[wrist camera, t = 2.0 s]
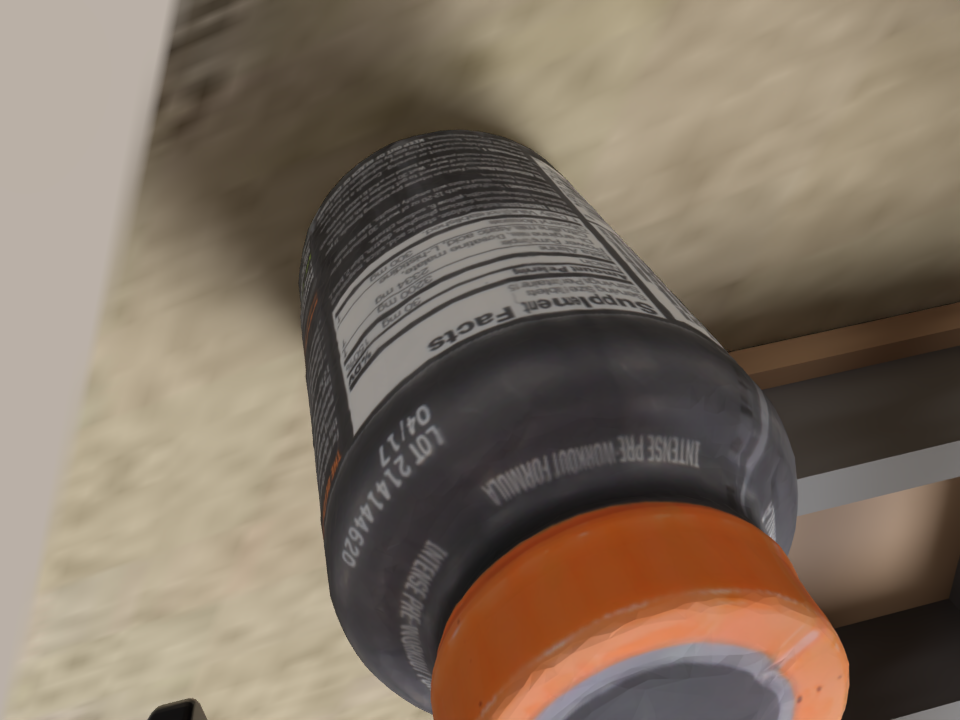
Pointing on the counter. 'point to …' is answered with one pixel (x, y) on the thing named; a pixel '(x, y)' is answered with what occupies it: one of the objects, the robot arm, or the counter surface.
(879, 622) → the holder
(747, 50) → the counter surface
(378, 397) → the pill bottle
